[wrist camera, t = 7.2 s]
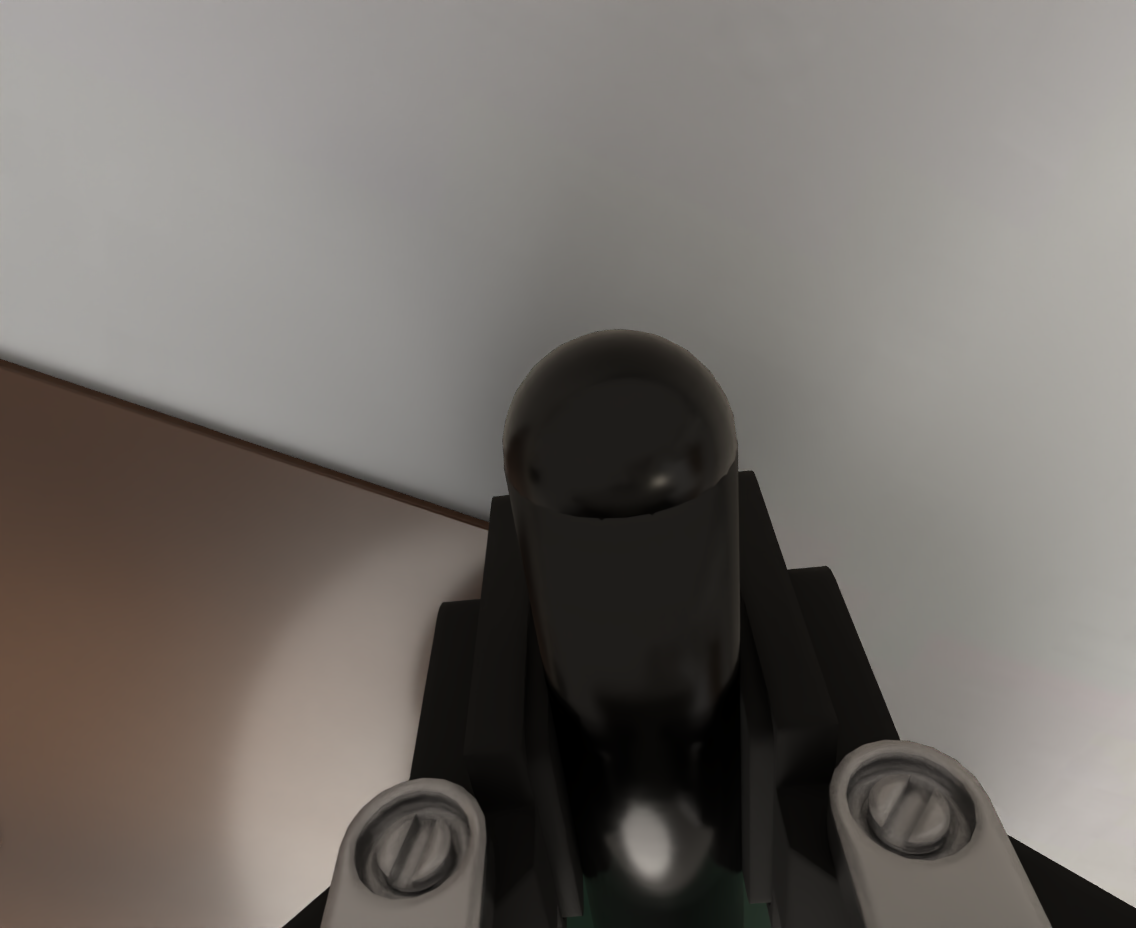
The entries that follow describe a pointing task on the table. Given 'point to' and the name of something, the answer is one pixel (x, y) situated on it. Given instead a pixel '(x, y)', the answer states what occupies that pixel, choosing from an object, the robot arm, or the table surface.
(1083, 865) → the table surface
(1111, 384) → the table surface
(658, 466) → the saucepan
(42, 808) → the trivet
